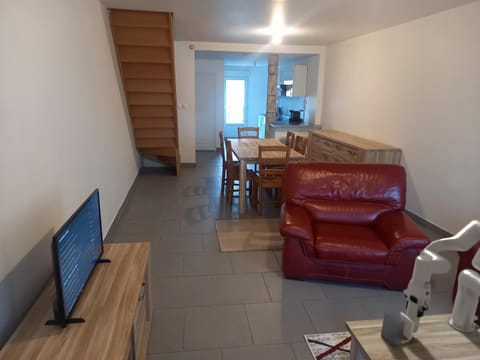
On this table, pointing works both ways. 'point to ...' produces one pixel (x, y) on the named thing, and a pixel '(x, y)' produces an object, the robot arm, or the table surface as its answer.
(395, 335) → the grey bracket
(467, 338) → the table surface
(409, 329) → the white flat slab
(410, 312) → the travel mug
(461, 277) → the robot arm
